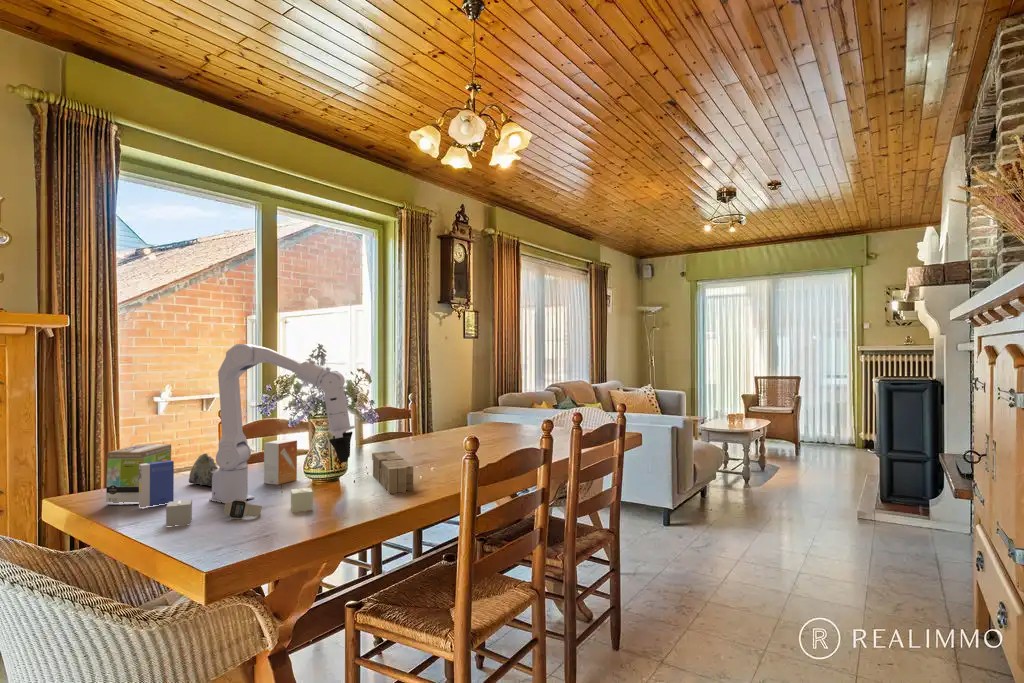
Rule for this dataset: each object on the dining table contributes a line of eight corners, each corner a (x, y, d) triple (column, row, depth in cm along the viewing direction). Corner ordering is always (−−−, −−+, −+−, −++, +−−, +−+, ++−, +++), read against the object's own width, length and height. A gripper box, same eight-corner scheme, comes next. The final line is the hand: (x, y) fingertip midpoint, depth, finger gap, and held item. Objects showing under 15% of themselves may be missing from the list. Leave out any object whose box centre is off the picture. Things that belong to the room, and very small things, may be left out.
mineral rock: (222, 489, 175) (222, 456, 175) (182, 492, 171) (182, 458, 172) (227, 480, 187) (227, 449, 188) (190, 483, 184) (190, 451, 184)
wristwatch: (218, 520, 142) (218, 499, 142) (232, 513, 149) (232, 493, 149) (254, 520, 142) (254, 500, 142) (266, 513, 148) (266, 493, 148)
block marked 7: (290, 508, 152) (290, 488, 153) (310, 506, 155) (310, 486, 155) (292, 513, 148) (292, 492, 148) (312, 510, 150) (312, 490, 150)
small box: (278, 485, 180) (278, 443, 180) (263, 483, 182) (263, 442, 182) (297, 480, 187) (297, 439, 187) (282, 478, 189) (282, 438, 190)
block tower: (414, 495, 170) (395, 473, 197) (414, 466, 170) (395, 448, 197) (387, 497, 167) (371, 475, 194) (388, 469, 167) (371, 450, 194)
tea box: (143, 505, 156) (143, 451, 157) (104, 506, 156) (105, 451, 156) (171, 492, 171) (172, 442, 172) (136, 493, 170) (136, 443, 171)
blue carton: (169, 502, 160) (170, 458, 160) (173, 503, 158) (173, 459, 158) (137, 508, 154) (137, 463, 154) (140, 509, 152) (141, 464, 152)
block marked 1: (168, 522, 140) (168, 501, 140) (191, 519, 142) (192, 498, 143) (166, 527, 136) (166, 505, 136) (190, 525, 138) (190, 503, 138)
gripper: (350, 412, 158) (357, 461, 158) (353, 408, 173) (360, 453, 172) (323, 417, 157) (331, 466, 157) (329, 413, 171) (336, 458, 171)
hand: (345, 459), depth 165 cm, fingers open, 7 cm apart
